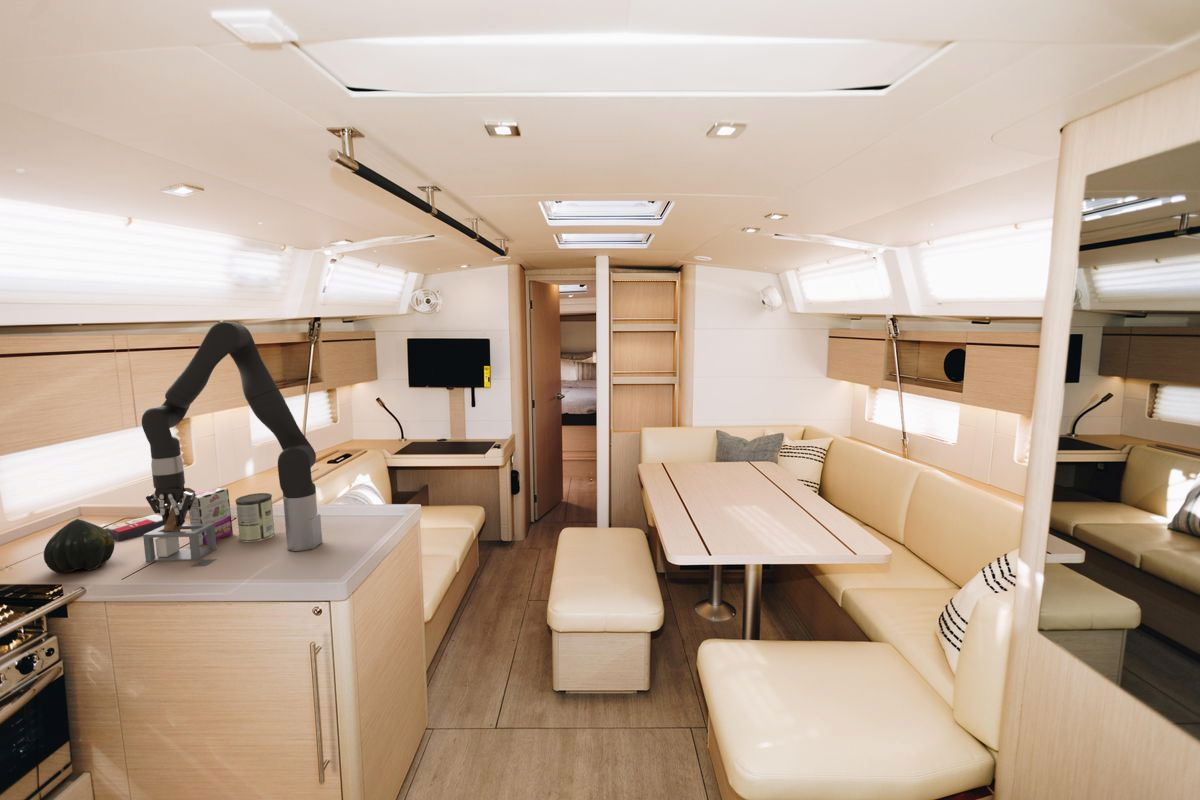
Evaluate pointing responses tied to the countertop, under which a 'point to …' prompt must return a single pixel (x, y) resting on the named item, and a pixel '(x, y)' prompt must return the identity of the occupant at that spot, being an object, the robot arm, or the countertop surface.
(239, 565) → the countertop surface
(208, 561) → the stylus pad
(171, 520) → the wooden block
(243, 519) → the coffee can
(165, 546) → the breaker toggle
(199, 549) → the breaker guard
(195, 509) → the candy bar box
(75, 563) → the squash
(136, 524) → the flat navy red box
